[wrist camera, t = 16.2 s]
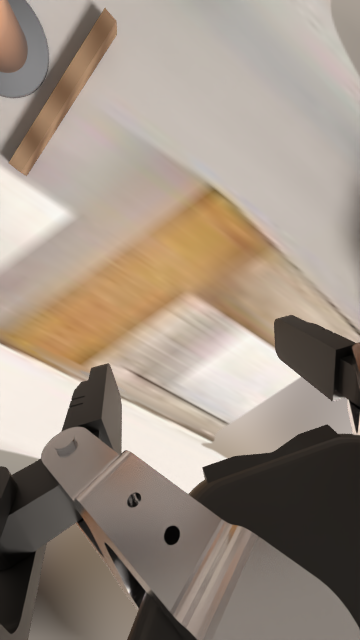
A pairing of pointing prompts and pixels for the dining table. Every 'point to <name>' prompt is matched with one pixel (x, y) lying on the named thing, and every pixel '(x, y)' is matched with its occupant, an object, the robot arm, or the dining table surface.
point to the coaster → (37, 55)
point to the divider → (65, 92)
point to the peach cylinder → (11, 40)
